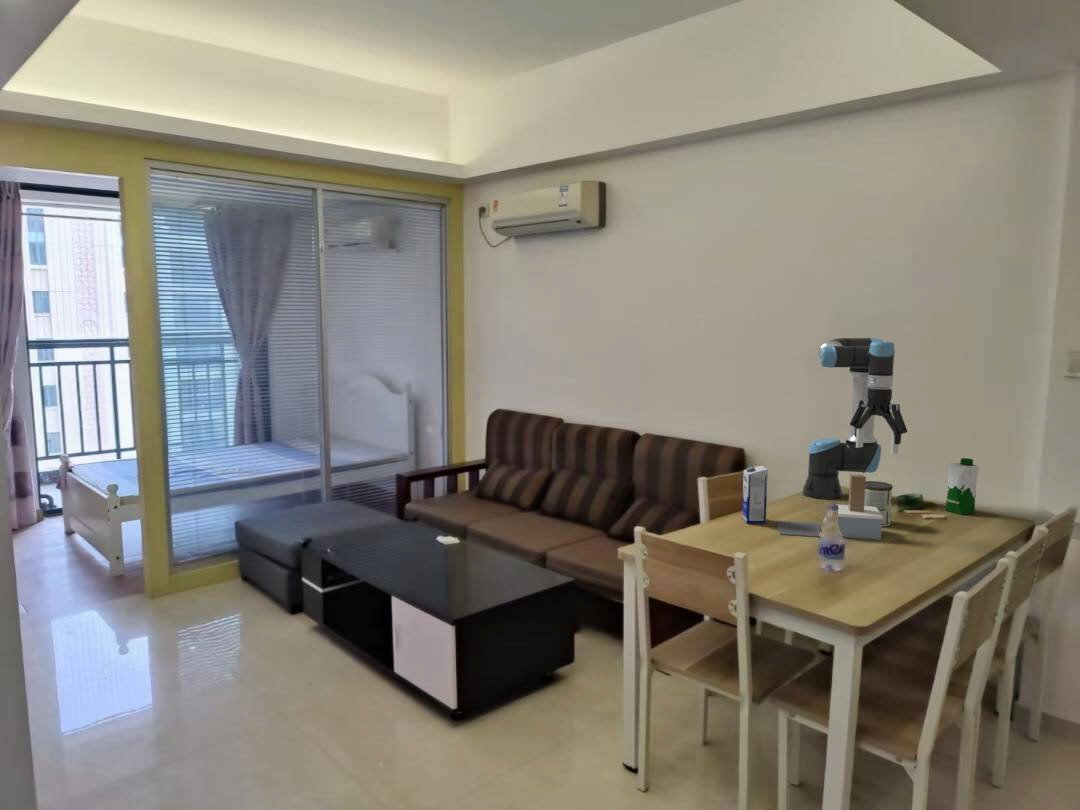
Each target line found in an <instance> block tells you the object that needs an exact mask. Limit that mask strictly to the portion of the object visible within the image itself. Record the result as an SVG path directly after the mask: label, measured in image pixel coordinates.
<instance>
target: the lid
mask: <svg viewBox="0 0 1080 810" xmlns="http://www.w3.org/2000/svg"><path fill="white" fill-rule="evenodd" d="M866 480H867V478H866V475H865V474H849V489H848V490H849V491H848V504H837V505H838V508H839V509H838V517H850V518H867V519H883V516H882V514H881V513H880V512H879V511H878V509H877V508H876V507H871V506H864V501H865V483H866Z"/></svg>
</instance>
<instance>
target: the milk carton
mask: <svg viewBox="0 0 1080 810" xmlns="http://www.w3.org/2000/svg"><path fill="white" fill-rule="evenodd" d="M768 470H769V469H768V468H766V467H765V466H763V465H757V466H749V467H747V468H746V469H743V479H742V480H743V481H742V484H743V485H742V506H741V507H742V509H741V510H742V511H741V512H742V514H741V518H742V520H743V521H744V522H745V523H746V524H749V525H751V524H752V525H758V524H760V525H761V524H762V525H763V524H764V525H765V524H767V523H766V522H767V502H768V501H767V499H768V498H767V497H768V495H767V494H768V476H769V475H768V473H769V471H768Z"/></svg>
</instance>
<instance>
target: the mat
mask: <svg viewBox="0 0 1080 810" xmlns="http://www.w3.org/2000/svg"><path fill="white" fill-rule="evenodd" d="M776 524H777V528H778V532H779V535H780V536H781V535H782V536H793V537H794V536H797V537H809V538H810V537H811V538H820V537H819V533H820V529H821V526H820V524H819V523H818V522H804V521H803V522H802V521H789V520H776Z"/></svg>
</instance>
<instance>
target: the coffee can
mask: <svg viewBox="0 0 1080 810" xmlns="http://www.w3.org/2000/svg"><path fill="white" fill-rule="evenodd" d="M893 487H894V486H893V485H892V484H891V483H888V482H884V481H875V480H867V481H866V483H865V501H864V506H871V507H876V508H877V509H878V511H879V512H880V513H881V514H882V516H883V519H882V525H881V528H882V527H883V528H884V527H889V526H890V525H891V514H892V513H891V512H892V500H893V499H892V494H893Z"/></svg>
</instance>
